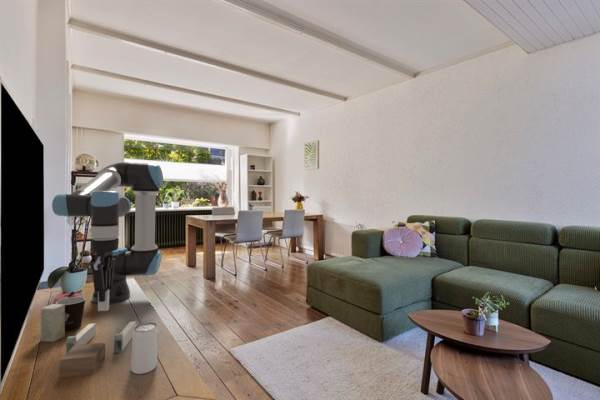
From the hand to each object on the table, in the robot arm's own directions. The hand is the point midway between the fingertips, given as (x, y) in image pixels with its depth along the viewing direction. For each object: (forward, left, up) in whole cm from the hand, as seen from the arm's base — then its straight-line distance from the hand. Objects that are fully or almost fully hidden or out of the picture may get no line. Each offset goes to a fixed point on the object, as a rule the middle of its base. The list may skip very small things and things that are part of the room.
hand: (103, 309), depth 95 cm
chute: (-1, 0, -12) cm, 12 cm away
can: (+16, +17, -12) cm, 26 cm away
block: (+13, 0, -12) cm, 17 cm away
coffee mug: (-16, -18, -12) cm, 27 cm away
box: (-7, -18, -12) cm, 23 cm away
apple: (-27, -23, -12) cm, 38 cm away
